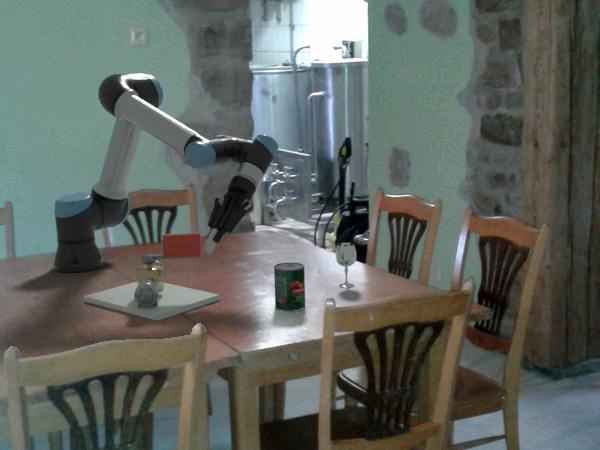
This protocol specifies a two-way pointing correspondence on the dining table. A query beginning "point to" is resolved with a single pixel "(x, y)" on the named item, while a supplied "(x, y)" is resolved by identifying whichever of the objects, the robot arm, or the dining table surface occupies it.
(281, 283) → the canned tomato
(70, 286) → the dining table surface
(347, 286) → the wineglass
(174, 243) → the valve lever
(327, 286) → the dining table surface
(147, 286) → the valve body
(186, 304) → the plate
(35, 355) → the dining table surface
